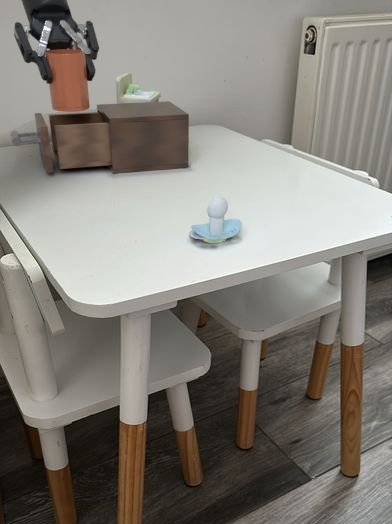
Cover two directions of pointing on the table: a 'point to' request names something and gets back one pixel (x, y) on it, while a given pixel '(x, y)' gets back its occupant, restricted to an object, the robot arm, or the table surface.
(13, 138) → the drawer
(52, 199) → the table surface
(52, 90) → the cup
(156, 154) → the cabinet
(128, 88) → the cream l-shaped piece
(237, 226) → the pacifier
